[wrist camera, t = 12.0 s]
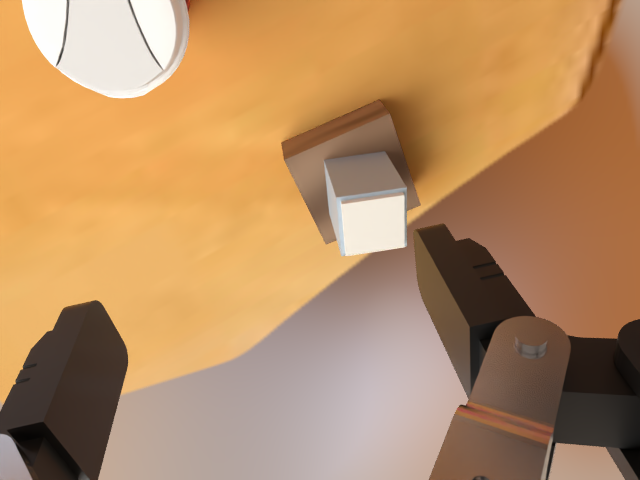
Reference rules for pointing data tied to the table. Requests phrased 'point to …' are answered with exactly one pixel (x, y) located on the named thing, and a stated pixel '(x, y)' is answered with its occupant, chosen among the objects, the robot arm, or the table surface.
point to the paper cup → (111, 41)
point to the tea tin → (366, 203)
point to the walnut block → (342, 141)
